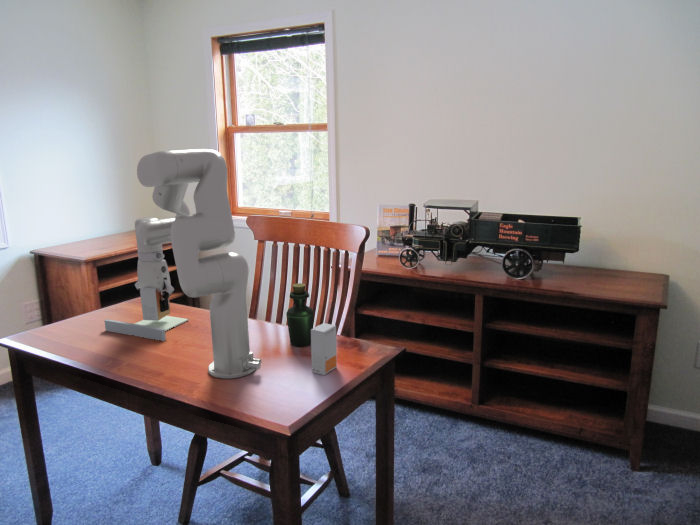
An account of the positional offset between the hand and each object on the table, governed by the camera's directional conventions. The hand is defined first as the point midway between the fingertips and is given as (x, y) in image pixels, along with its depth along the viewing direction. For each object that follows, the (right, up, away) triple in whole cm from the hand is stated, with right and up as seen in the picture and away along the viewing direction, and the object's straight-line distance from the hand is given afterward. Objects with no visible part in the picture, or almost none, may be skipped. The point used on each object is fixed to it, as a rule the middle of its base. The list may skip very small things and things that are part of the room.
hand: (156, 309), depth 181 cm
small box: (0, -3, +1) cm, 3 cm away
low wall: (-4, -8, -7) cm, 11 cm away
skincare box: (+57, -13, -35) cm, 68 cm away
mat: (0, -5, +1) cm, 6 cm away
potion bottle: (+49, -9, -16) cm, 52 cm away
